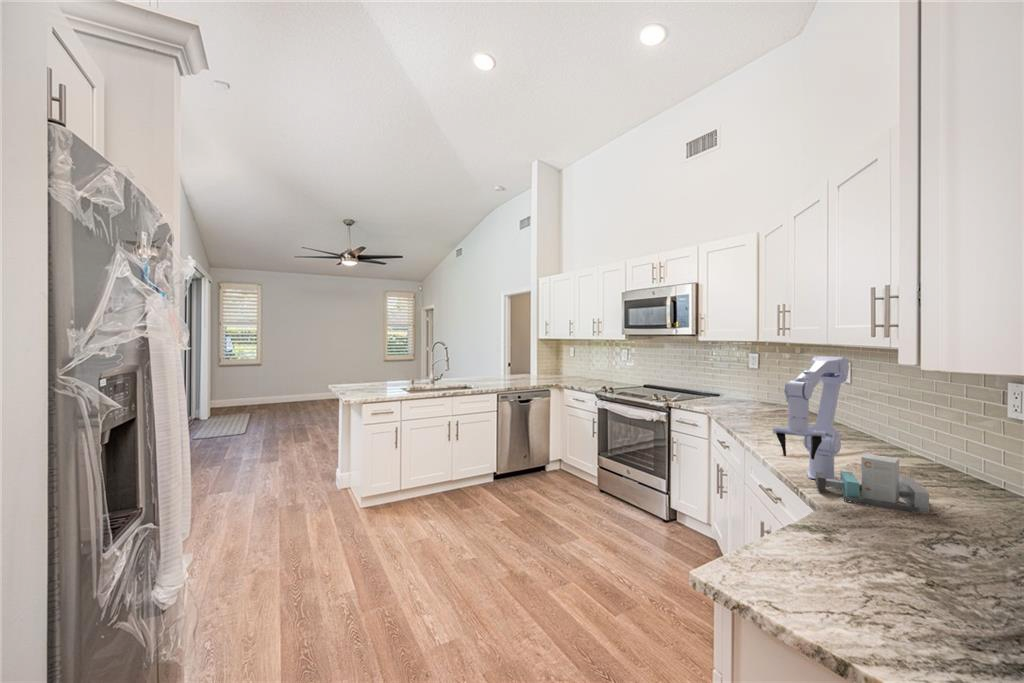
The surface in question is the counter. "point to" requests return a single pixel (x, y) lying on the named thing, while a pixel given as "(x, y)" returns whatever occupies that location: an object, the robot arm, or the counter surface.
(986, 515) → the counter surface
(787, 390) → the robot arm
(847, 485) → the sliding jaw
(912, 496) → the vise
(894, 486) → the small box
